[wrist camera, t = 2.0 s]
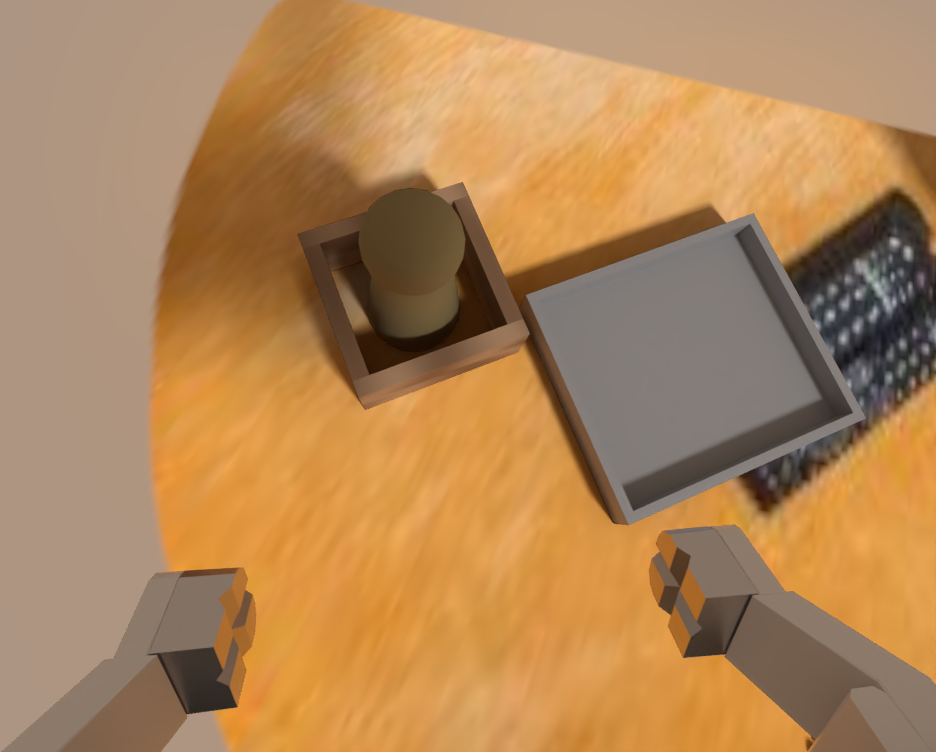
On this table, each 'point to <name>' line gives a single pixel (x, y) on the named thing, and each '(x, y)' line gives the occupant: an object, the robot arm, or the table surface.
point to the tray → (686, 367)
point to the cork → (412, 268)
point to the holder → (507, 336)
